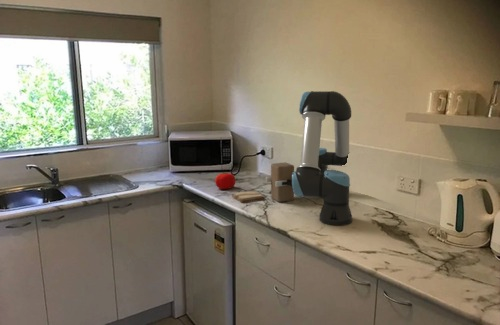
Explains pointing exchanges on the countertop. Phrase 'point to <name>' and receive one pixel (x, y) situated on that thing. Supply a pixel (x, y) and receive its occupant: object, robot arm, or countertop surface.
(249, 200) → the trivet
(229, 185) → the tomato
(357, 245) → the countertop surface
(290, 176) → the block
